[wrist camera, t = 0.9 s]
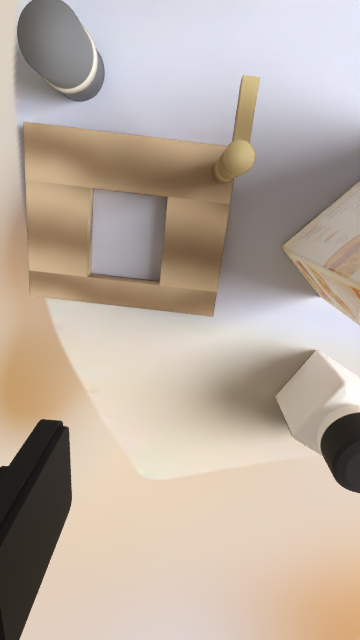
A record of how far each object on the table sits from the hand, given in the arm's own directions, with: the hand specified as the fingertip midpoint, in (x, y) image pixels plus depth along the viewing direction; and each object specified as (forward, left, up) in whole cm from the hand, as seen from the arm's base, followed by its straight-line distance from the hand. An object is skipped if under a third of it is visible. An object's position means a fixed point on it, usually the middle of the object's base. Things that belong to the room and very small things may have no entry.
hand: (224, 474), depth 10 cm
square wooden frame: (-4, -7, -25) cm, 27 cm away
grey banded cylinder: (-16, -12, -25) cm, 33 cm away
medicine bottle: (+11, +15, -26) cm, 31 cm away
